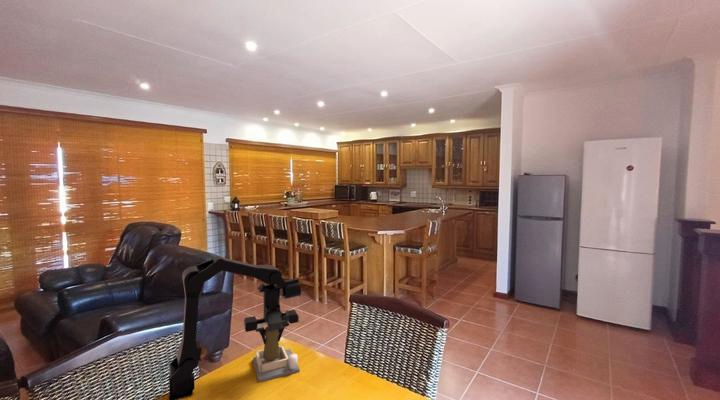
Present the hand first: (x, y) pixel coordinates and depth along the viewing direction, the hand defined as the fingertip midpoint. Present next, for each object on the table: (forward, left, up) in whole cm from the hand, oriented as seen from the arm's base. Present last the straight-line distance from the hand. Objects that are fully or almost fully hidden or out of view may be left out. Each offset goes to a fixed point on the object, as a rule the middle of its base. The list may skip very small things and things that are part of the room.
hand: (271, 342), depth 117 cm
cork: (0, 0, -5) cm, 5 cm away
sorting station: (+1, -1, -8) cm, 9 cm away
